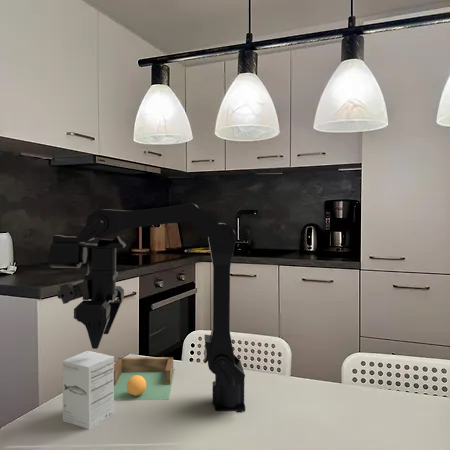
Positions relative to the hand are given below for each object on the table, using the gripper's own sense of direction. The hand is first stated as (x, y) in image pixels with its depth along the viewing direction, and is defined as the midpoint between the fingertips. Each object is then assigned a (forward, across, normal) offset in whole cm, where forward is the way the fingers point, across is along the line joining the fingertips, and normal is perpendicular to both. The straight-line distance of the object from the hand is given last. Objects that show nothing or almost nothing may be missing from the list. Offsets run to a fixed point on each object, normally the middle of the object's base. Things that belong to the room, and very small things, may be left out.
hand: (100, 340), depth 90 cm
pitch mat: (+15, -12, +7) cm, 20 cm away
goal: (+14, -15, +7) cm, 22 cm away
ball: (+14, -5, +7) cm, 17 cm away
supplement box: (+15, +5, -1) cm, 16 cm away
